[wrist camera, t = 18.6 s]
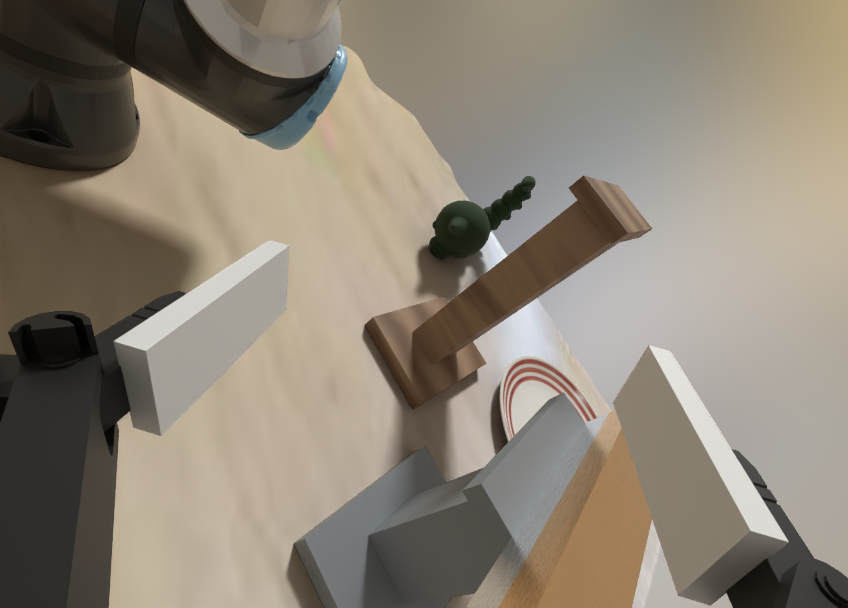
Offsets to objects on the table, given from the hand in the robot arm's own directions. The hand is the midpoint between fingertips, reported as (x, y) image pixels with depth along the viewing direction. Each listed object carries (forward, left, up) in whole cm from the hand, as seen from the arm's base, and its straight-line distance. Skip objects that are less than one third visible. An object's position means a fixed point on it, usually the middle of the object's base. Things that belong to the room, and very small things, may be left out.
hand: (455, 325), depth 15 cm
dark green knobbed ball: (+9, +57, -28) cm, 64 cm away
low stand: (+16, +4, -27) cm, 32 cm away
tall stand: (+12, +29, -27) cm, 41 cm away
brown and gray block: (+14, +1, -7) cm, 16 cm away
